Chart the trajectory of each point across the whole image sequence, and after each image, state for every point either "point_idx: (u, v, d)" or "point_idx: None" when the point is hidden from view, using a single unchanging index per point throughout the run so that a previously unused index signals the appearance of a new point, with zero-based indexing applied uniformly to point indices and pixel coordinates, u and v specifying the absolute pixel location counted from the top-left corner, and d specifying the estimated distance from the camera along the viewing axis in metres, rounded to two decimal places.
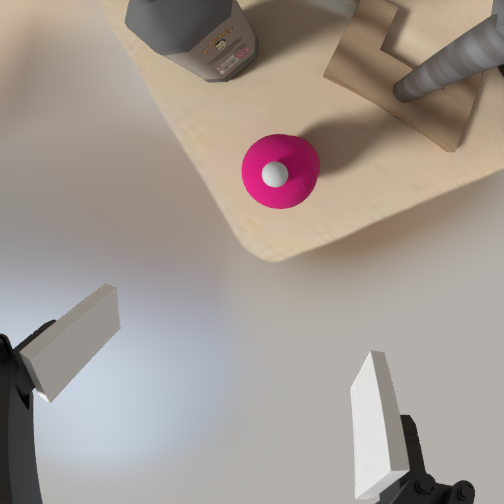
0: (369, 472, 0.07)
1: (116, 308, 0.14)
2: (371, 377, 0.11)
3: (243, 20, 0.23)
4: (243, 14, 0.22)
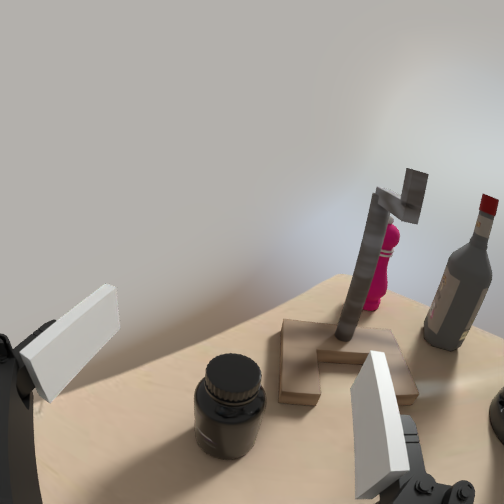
0: (369, 472, 0.07)
1: (116, 308, 0.14)
2: (371, 377, 0.11)
3: (447, 301, 0.42)
4: (450, 303, 0.41)
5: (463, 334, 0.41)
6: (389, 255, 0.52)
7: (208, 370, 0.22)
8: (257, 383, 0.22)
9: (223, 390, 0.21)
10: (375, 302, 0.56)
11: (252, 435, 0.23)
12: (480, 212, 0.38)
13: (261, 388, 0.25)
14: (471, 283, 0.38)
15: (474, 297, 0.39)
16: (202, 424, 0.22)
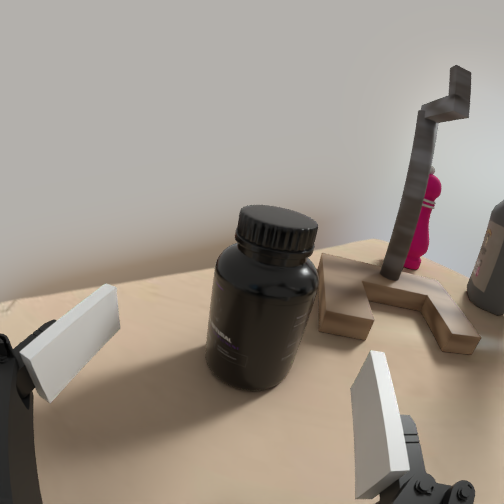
0: (369, 472, 0.07)
1: (116, 308, 0.14)
2: (371, 377, 0.11)
3: (494, 253, 0.34)
4: (498, 254, 0.33)
5: None
6: (431, 206, 0.44)
7: (244, 209, 0.17)
8: (313, 228, 0.16)
9: (265, 224, 0.15)
10: (416, 260, 0.48)
11: (294, 339, 0.17)
12: None
13: None
14: None
15: None
16: (222, 307, 0.17)
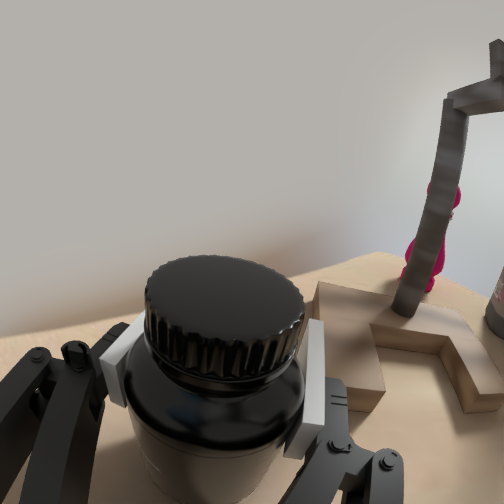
0: (293, 428, 0.09)
1: None
2: (306, 341, 0.13)
3: None
4: None
5: None
6: None
7: (156, 276, 0.08)
8: (294, 323, 0.07)
9: (180, 328, 0.06)
10: (430, 281, 0.39)
11: (259, 472, 0.09)
12: None
13: (294, 358, 0.10)
14: None
15: None
16: (137, 432, 0.08)
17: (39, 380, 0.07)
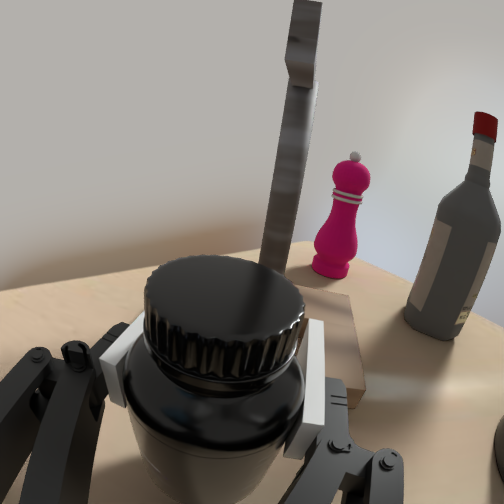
0: (293, 427, 0.09)
1: None
2: (306, 341, 0.13)
3: (435, 260, 0.30)
4: (439, 262, 0.29)
5: (462, 315, 0.28)
6: (355, 201, 0.40)
7: (156, 276, 0.08)
8: (294, 323, 0.07)
9: (180, 328, 0.06)
10: (339, 267, 0.44)
11: (259, 472, 0.09)
12: (474, 137, 0.26)
13: (294, 358, 0.10)
14: (469, 230, 0.26)
15: (475, 254, 0.26)
16: (137, 433, 0.08)
17: (39, 380, 0.07)
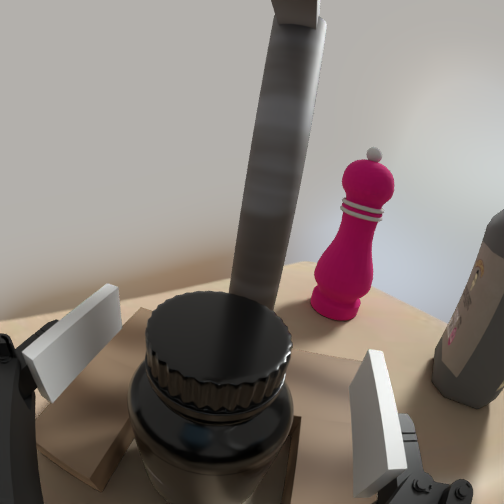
0: (367, 470, 0.07)
1: (118, 308, 0.14)
2: (369, 376, 0.11)
3: (485, 311, 0.17)
4: (492, 314, 0.17)
5: None
6: (374, 217, 0.28)
7: (155, 317, 0.09)
8: (281, 364, 0.08)
9: (178, 372, 0.07)
10: (348, 307, 0.32)
11: (252, 484, 0.09)
12: None
13: (284, 384, 0.11)
14: None
15: None
16: (141, 450, 0.09)
17: None
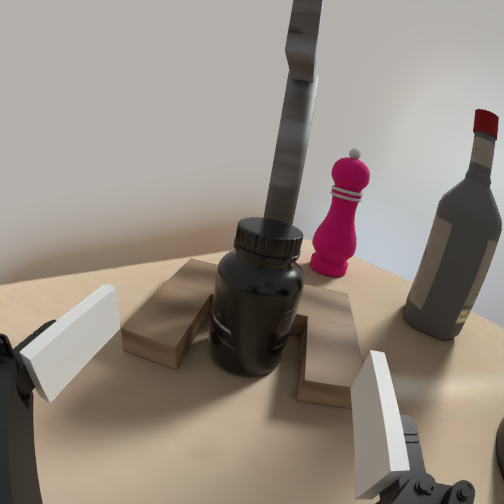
0: (369, 472, 0.07)
1: (116, 308, 0.14)
2: (371, 377, 0.11)
3: (435, 258, 0.29)
4: (440, 260, 0.28)
5: (462, 314, 0.28)
6: (355, 198, 0.40)
7: (241, 222, 0.20)
8: (299, 238, 0.19)
9: (259, 235, 0.18)
10: (338, 266, 0.43)
11: (284, 331, 0.21)
12: (475, 134, 0.25)
13: (299, 266, 0.22)
14: (469, 228, 0.25)
15: (476, 252, 0.25)
16: (223, 304, 0.20)
17: None
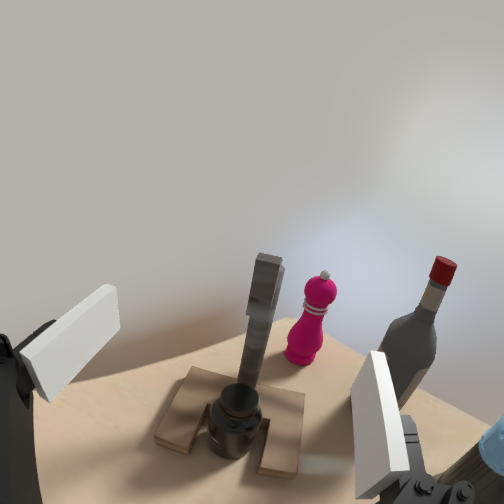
0: (369, 472, 0.07)
1: (116, 308, 0.14)
2: (371, 377, 0.11)
3: None
4: None
5: None
6: (321, 313, 0.50)
7: (222, 394, 0.31)
8: (256, 406, 0.30)
9: (231, 409, 0.29)
10: (306, 358, 0.53)
11: (249, 442, 0.31)
12: (430, 279, 0.35)
13: (259, 409, 0.32)
14: (403, 362, 0.36)
15: (406, 377, 0.35)
16: (214, 431, 0.30)
17: None
